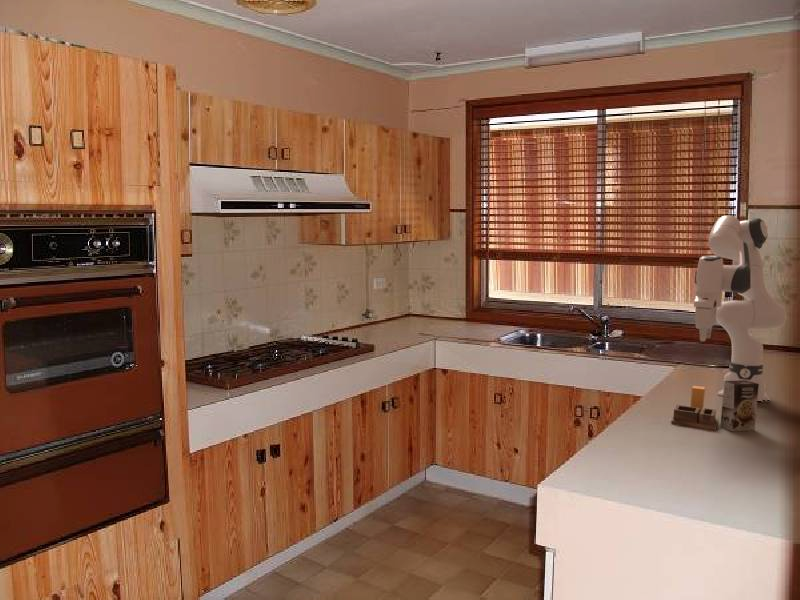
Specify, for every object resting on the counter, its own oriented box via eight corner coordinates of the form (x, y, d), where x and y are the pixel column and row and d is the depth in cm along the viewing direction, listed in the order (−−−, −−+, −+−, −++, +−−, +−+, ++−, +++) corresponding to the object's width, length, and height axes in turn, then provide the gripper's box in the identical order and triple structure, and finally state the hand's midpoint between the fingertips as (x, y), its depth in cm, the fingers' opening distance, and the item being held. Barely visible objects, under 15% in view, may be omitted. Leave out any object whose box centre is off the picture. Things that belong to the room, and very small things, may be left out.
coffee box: (733, 432, 237) (736, 384, 235) (719, 426, 243) (723, 380, 241) (755, 430, 240) (759, 383, 238) (741, 424, 246) (745, 379, 244)
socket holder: (675, 415, 256) (676, 403, 255) (717, 421, 249) (718, 409, 249) (671, 423, 245) (671, 411, 244) (715, 430, 239) (716, 417, 238)
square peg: (691, 412, 260) (693, 385, 259) (703, 414, 259) (705, 387, 257) (690, 414, 257) (692, 387, 256) (701, 416, 255) (704, 389, 254)
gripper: (703, 298, 264) (700, 335, 265) (693, 302, 246) (690, 341, 248) (722, 299, 260) (719, 337, 262) (712, 303, 243) (709, 343, 244)
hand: (705, 339), depth 255 cm, fingers open, 8 cm apart
